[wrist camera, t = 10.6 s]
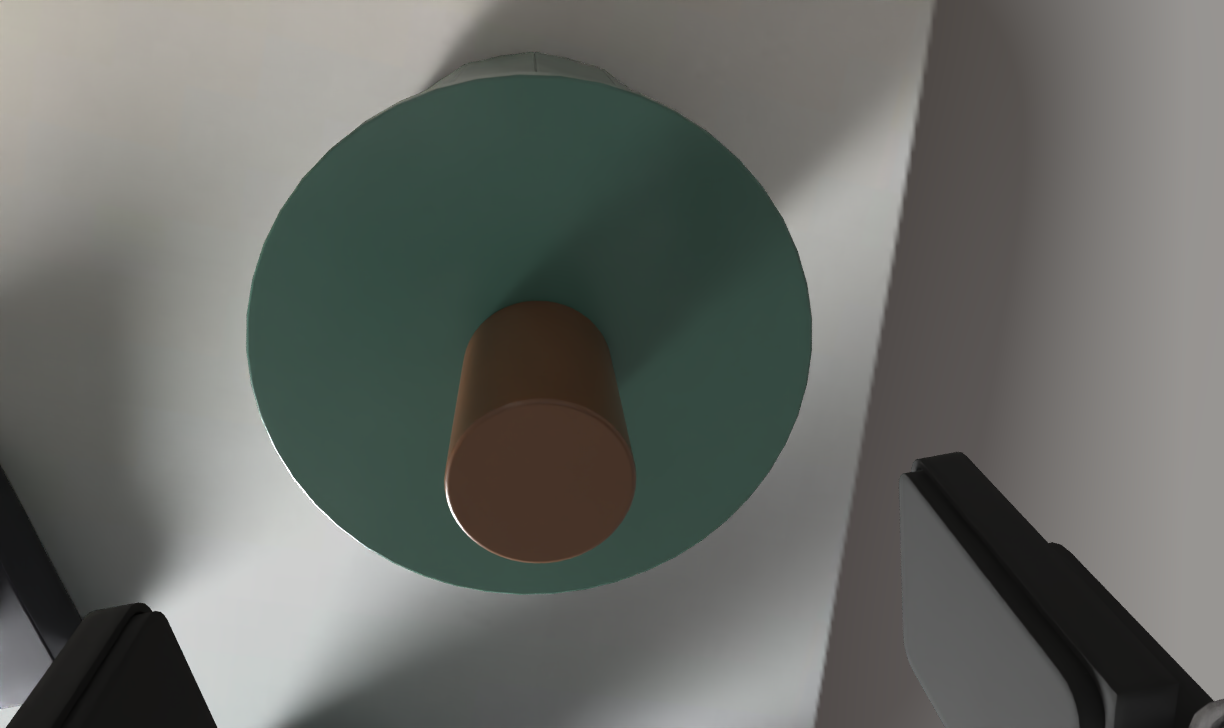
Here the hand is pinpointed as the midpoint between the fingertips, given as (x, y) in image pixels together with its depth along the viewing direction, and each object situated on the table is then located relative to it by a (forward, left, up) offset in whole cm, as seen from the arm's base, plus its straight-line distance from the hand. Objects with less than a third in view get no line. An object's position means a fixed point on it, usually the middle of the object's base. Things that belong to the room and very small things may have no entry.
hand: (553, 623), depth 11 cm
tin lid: (0, 0, -8) cm, 8 cm away
